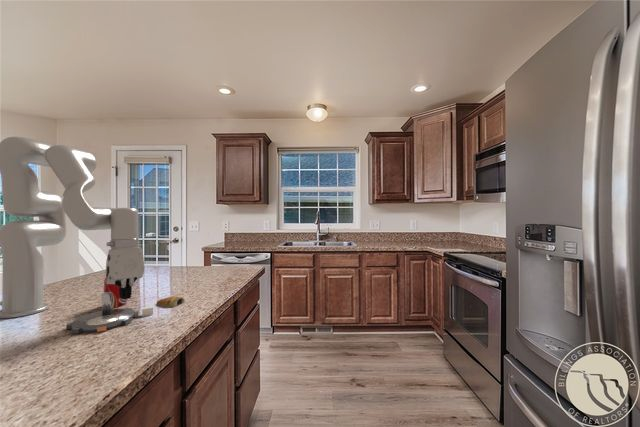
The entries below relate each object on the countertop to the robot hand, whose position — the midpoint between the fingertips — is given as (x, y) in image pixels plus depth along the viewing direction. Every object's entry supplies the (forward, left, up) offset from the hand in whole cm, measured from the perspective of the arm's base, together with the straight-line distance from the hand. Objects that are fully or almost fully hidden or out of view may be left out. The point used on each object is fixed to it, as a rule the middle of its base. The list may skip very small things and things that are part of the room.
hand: (125, 298), depth 90 cm
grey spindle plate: (+2, -9, -5) cm, 10 cm away
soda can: (-10, +5, -6) cm, 13 cm away
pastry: (+9, +10, -6) cm, 15 cm away
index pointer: (+9, -1, -5) cm, 11 cm away
